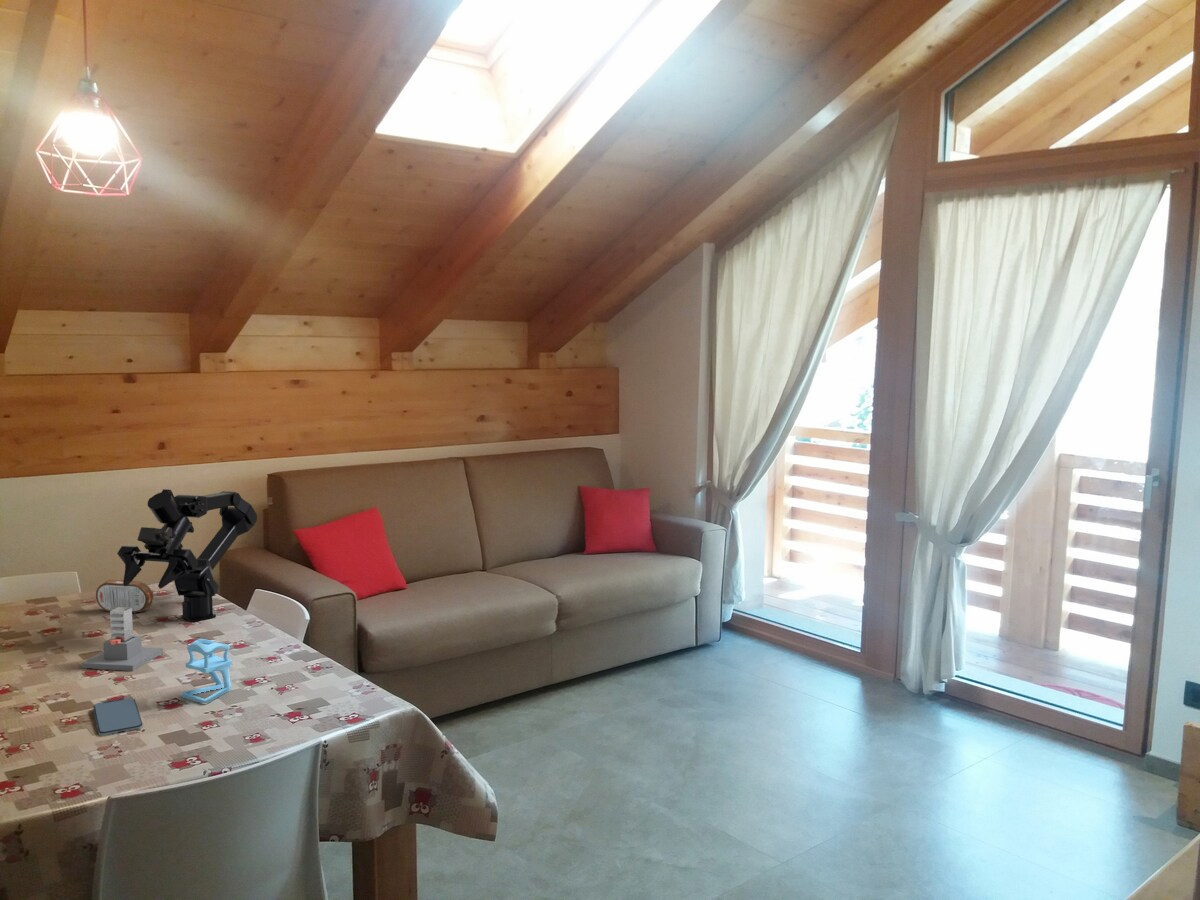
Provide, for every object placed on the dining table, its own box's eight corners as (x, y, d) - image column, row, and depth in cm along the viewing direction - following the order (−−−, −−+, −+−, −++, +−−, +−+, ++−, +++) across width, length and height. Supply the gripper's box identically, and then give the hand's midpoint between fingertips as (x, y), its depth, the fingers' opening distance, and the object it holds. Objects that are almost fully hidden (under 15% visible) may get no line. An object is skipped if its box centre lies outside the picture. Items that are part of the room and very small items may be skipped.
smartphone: (98, 733, 174) (92, 703, 186) (99, 741, 174) (92, 711, 187) (143, 724, 178) (134, 696, 190) (144, 733, 178) (134, 703, 191)
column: (120, 651, 216) (118, 606, 215) (134, 651, 216) (132, 607, 215) (110, 656, 212) (108, 611, 211) (124, 657, 212) (122, 612, 211)
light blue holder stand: (239, 692, 197) (237, 637, 195) (204, 705, 190) (203, 647, 188) (215, 685, 201) (213, 630, 199) (180, 697, 194) (178, 640, 192)
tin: (154, 611, 253) (153, 580, 252) (147, 614, 250) (146, 583, 248) (101, 608, 254) (100, 578, 253) (94, 611, 251) (93, 581, 250)
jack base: (114, 650, 221) (113, 626, 220) (162, 652, 220) (161, 628, 219) (81, 668, 209) (80, 643, 208) (132, 670, 208) (131, 645, 207)
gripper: (123, 512, 230) (90, 563, 220) (192, 516, 227) (163, 568, 217) (143, 541, 238) (112, 591, 228) (210, 545, 235) (182, 596, 224)
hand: (141, 586), depth 224 cm, fingers open, 9 cm apart
